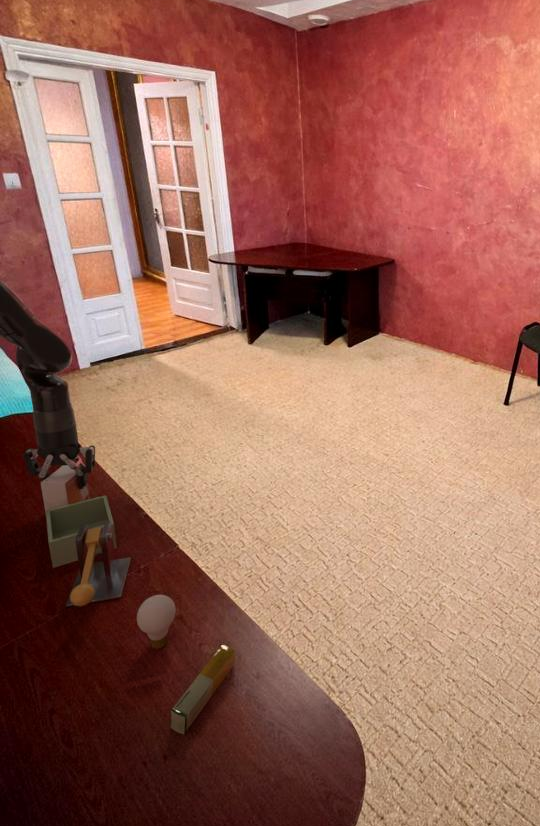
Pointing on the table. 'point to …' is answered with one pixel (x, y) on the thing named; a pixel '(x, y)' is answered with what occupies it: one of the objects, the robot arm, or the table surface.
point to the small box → (63, 489)
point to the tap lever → (87, 570)
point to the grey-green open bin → (75, 527)
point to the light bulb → (156, 619)
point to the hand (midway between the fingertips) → (65, 488)
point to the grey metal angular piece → (102, 567)
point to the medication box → (202, 689)
